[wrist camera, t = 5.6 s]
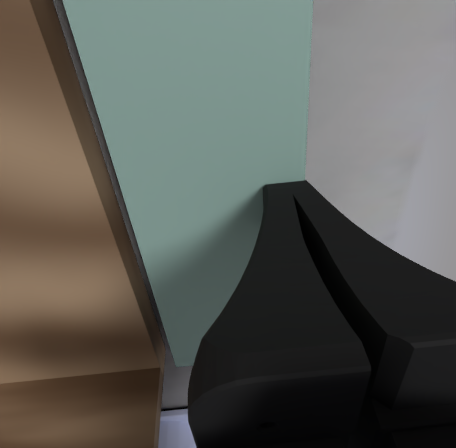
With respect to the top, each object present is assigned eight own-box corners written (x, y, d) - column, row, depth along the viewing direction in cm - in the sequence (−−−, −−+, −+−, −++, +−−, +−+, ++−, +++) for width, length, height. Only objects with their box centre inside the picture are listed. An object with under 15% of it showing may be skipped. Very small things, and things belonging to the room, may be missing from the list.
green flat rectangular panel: (177, 338, 19) (291, 329, 19) (175, 367, 18) (296, 356, 18) (44, -137, 8) (304, -167, 8) (17, -146, 7) (321, -181, 7)
